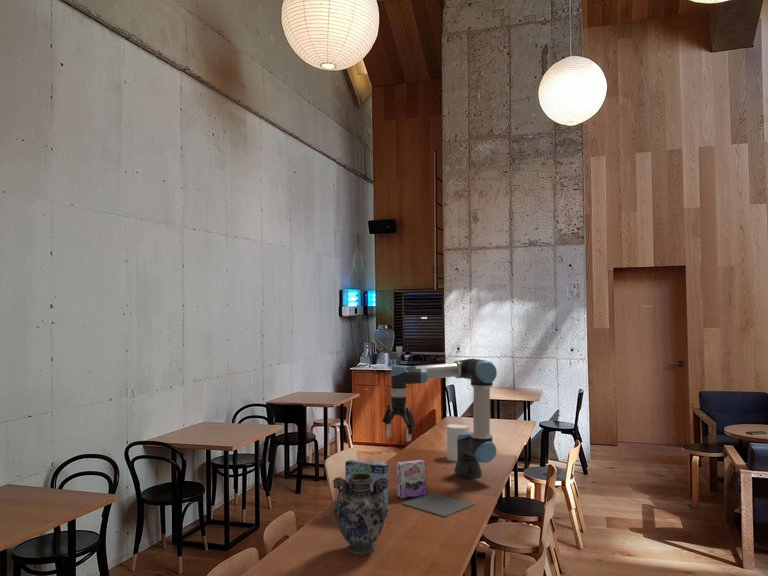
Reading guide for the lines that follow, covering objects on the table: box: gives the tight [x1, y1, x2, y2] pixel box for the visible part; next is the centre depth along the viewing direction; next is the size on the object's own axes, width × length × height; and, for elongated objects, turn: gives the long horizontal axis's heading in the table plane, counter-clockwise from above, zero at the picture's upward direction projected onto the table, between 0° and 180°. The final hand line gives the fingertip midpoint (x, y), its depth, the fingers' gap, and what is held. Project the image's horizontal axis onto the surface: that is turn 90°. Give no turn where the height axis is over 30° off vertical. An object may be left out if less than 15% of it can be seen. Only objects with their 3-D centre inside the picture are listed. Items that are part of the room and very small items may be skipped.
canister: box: [446, 423, 470, 462], centre depth 366 cm, size 14×14×20 cm
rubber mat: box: [401, 492, 475, 518], centre depth 279 cm, size 22×26×1 cm
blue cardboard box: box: [344, 459, 389, 518], centre depth 267 cm, size 20×5×23 cm, turn 66°
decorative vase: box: [332, 474, 389, 556], centre depth 227 cm, size 21×19×28 cm
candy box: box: [395, 459, 428, 499], centre depth 292 cm, size 14×6×16 cm, turn 105°
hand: (398, 438), depth 298 cm, fingers open, 13 cm apart
